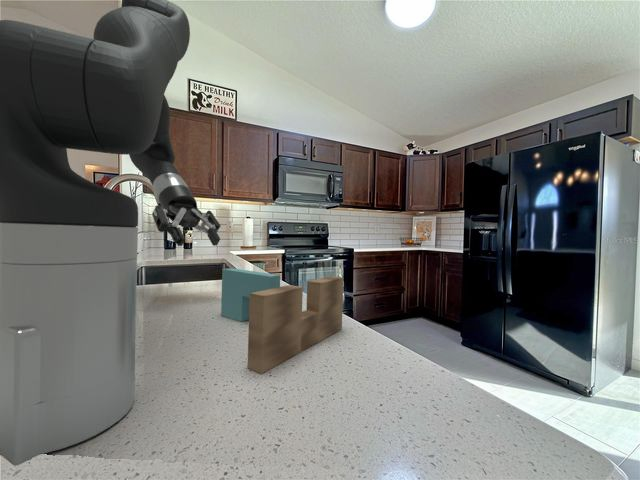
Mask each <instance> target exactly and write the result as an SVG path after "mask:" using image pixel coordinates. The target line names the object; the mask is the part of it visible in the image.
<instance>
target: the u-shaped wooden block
mask: <svg viewBox="0 0 640 480" xmlns="http://www.w3.org/2000/svg"><path fill="white" fill-rule="evenodd" d="M306 283H307V285H306V288H307V289H306V310H303V295H304V294H303V290H304V288H303V286H299V285H291V284H288V285H283V286H280V287H277V288H273V289H268V290H263V291H258V292H253V293H250V299H249V320H248V335H247V337H248V340H247V341H248V342H247V369H248V370H251V371H254V372H256V373H258V374H260V375H262V374H264V373H266V372H269V371H270V370H272V369H273V368H275V367H278V365H280V364H282V363H284V362H286V361H288V360H290V359H291V358H293V357H295V356H297V355H299V354H300V353H302V352H304V351H306V350H308V349H309V348H311V347H313V346H315V345H316V344H318V343H320V342H322V341H323V340H325V339H327V338H329V337H330V336H333V335H334V334H336V333H339V332H340V331H342V330H343V329H342V328H343V310H344V309H343V306H344V305H343V304H344V277H340V276H333V275H331V276H325V277H321V278H317V279H313V280H307V282H306Z"/></svg>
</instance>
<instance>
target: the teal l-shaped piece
mask: <svg viewBox="0 0 640 480" xmlns="http://www.w3.org/2000/svg"><path fill="white" fill-rule="evenodd" d="M221 270H222V273H221V275H222V276H221V303H220V304H221V305H220V306H221V309H220V316H221V317H223V318H228V319H231V320H234V321H238V322H245V321H249V299H250V293H253V292H258V291H263V290H268V289H273V288H277V287H281V275H280V274H274V273H269V272H268V273H266V272H261V271H254V270H247V269H241V268H233V267H230V268H222V269H221Z"/></svg>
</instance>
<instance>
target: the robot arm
mask: <svg viewBox="0 0 640 480" xmlns="http://www.w3.org/2000/svg"><path fill="white" fill-rule="evenodd" d="M120 5H121V6H120V7H117V8H115V9H112V10H110V11H109V12H106V13H105V14H103V15H102V16H101V17H100V19H99V20H98V21H96V22H97V23H96V25H95V27H94V31H93V38H91V37H87V36H81V35H77V34H74V33H69V32H65V31H63V30H56V29H54V28H49V27H45V26H40V25H36V24H32V23H27V22H23V21H17V20H14V19H13V20H10V19H2V20H0V456H1V457H2V458H4V459H5V460H6V461H7V462H8V463H10V464H11V465H13V466H15V467H16V466H20V465H22V464H24V463H26V462H27V461H29V460H31V459H33V458H36V457H38V456H40V455H43V454H47V453H51V452H55V451H59V450H62V449H65V448H68V447H70V446H74V445H76V444H79V443H81V442H83V441H86V440H88V439H91V438H92V437H95V436H97V435H98V434H100V433H102V432H104V431H105V430H106V429H108V428H111V426H113V425H114V424H115V423H116V424H117V422H119V421H121V419H123V418H124V416H125V415H127V414H128V413H129V412H130V410H131V408H132V407H133V405H134V402H135V382H136V373H135V372H136V333H137V331H136V329H137V290H138V289H137V288H138V287H137V285H138V282H137V281H138V280H137V279H138V249H139V248H138V242H139V228H138V226H139V207H138V204H137V202H136V200H135V199H134V198H132V197H130V196H129V195H127V194H124V193H121V192H119V191H116V190H113V189H111V188H108V187H104V186H102V185H100V184H97V183H94V182H92V181H90V180H88V179H86V178H84V177H83V176H81V175H80V174H78V173H77V172H75V171H74V170H73V169H72V168H71V166H70V162H69V158H68V157H69V156H68V149H69V150H78V151H84V152H93V153H102V154H103V153H104V154H110V155H111V154H112V155H113V154H114V155H129V159H130V161H131V163H132V164H133V166H134V167H136V168H137V169H138V171H139V172H141V174H143V175H144V176H145V177H147V179H149V182H150V184H151V185H152V188H153V189H154V193H155V196H156V198H157V200H158V202H159V204H160V205H159V204H157V205H155V207H154V208H153V209H154V210H153V211H152V213H151V215H152V218H153V221H154V223H155V226H156V228H157V231H159V232H160V233H164V232H167V234H168V235H170V237H171V238H172V241H173V242H174V243H175V244H176V245H177V246H178V247H182V246H184V243H185V242H186V238H185V236H184V234H183V232H182V230H181V228H180V227H182V228H195V229H196V230H197V231H199V232H203V233H205V234H206V235H207V237H208V239H209V241H210V242H211V245H212V246H218V244H219V242H220V241H221V238H220V236H219V234H218V231H219V229H220V228H221V224H220V222H219V221H218V219H217V218H216V216H215V214H214V213H213V212H212V211H211V210H207V212H202V211H201V210H200V209H199V208H198V203H197V200H196V199H195V197H194V195H193V193H192V192H191V190H190V188H189V186H188V185H187V183H186V182H185V180H184V179H183V178H182V176H181V174H180V173H179V171H178V169H177V168H176V166H175V165H174V164H175V162H176V156H175V155H176V154H175V151H174V148H173V146H172V143H171V142H172V141H171V137H170V136H171V135H170V125H171V124H170V122H171V109H170V105H169V102H168V100H167V97H166V95H165V93H166V90H167V87H168V85H169V84H170V82H171V80H172V79H173V76H174V74H175V72H176V70H177V67H178V63H179V62H180V61H181V60H182V59H183V58H184V56H185V55H186V53H187V51H188V47H189V43H190V38H191V31H190V30H191V29H190V28H191V27H190V22H189V19H188V16H187V13H186V12H185V11H184V9H183V8H181V7H180V6H179V5H177V4H175V3H174V2H171V1H169V0H121V4H120ZM168 219H169V220H171V221H172V223H170V222H169V221H168ZM200 221H201V224H200ZM178 226H180V227H178ZM207 227H208V228H207Z"/></svg>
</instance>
